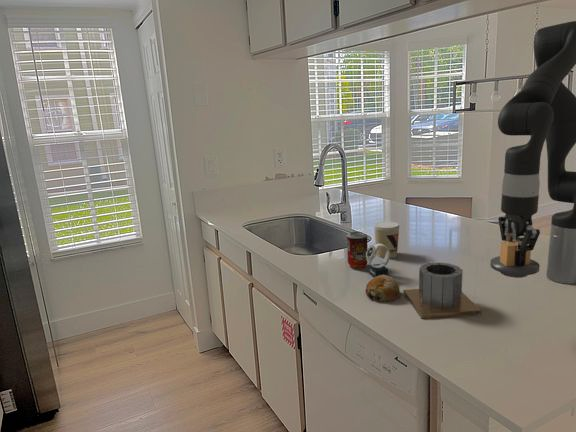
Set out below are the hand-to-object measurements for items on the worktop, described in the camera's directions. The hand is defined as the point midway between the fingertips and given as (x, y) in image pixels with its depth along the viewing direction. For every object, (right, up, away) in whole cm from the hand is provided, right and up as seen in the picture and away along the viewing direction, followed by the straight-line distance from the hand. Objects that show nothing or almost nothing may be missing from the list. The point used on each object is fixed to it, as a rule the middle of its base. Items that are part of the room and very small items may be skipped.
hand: (515, 262), depth 102 cm
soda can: (-30, -7, +50) cm, 59 cm away
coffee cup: (-17, -4, +60) cm, 63 cm away
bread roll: (-26, -13, +26) cm, 39 cm away
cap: (0, -3, +1) cm, 3 cm away
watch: (-24, -9, +41) cm, 48 cm away
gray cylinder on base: (-12, -14, +18) cm, 26 cm away
